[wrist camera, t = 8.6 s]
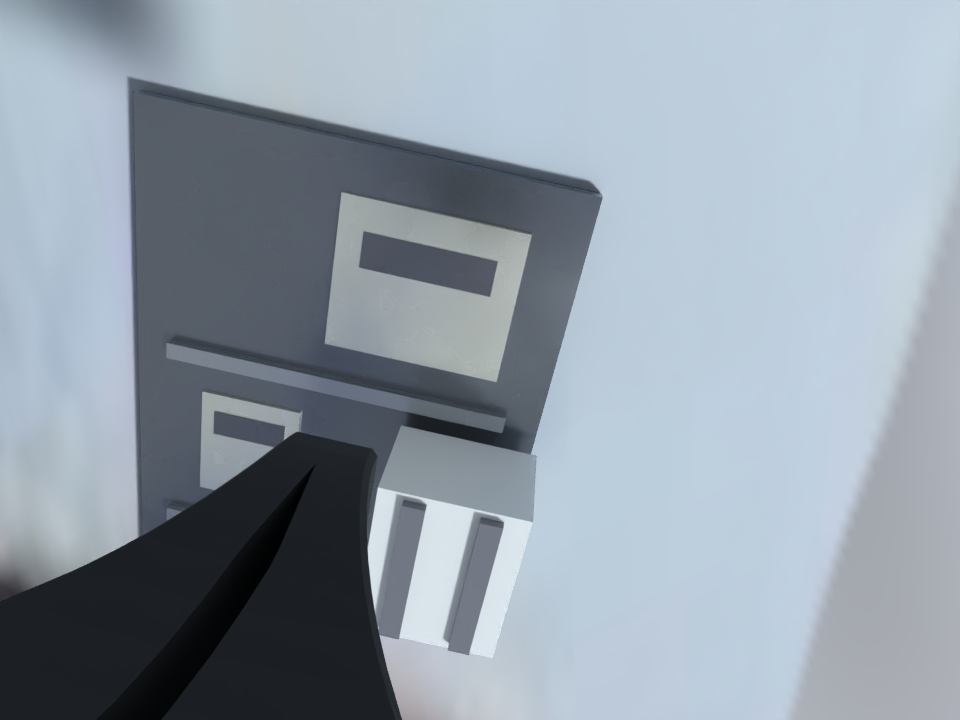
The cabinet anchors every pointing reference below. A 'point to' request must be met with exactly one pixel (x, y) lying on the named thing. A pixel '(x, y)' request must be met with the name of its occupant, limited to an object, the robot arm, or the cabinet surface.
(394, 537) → the white grey striped block
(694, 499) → the cabinet surface
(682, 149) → the cabinet surface
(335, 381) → the label board
